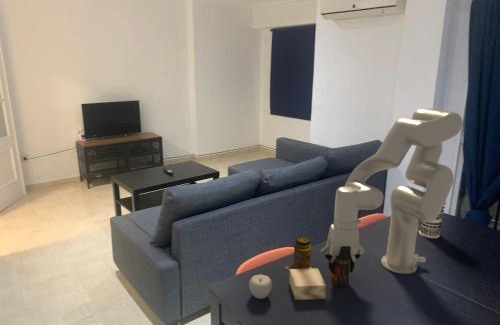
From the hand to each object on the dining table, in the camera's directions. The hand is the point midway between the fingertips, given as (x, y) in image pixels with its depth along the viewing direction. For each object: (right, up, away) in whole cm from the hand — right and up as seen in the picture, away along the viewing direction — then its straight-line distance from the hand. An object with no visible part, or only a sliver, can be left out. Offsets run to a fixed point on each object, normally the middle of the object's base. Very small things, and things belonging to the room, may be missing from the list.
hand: (340, 270), depth 124 cm
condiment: (-13, -2, +9) cm, 16 cm away
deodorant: (0, -5, +1) cm, 5 cm away
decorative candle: (+50, +5, +38) cm, 63 cm away
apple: (-28, -7, -7) cm, 30 cm away
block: (-13, -6, -4) cm, 14 cm away
